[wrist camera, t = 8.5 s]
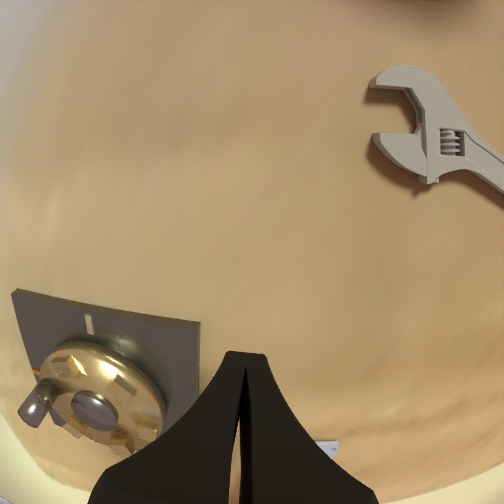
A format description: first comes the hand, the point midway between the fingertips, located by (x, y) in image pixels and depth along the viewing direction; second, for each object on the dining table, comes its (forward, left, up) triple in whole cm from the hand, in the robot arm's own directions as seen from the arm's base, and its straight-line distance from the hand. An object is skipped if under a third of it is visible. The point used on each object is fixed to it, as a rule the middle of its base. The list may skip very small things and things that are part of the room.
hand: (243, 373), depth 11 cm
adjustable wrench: (+8, -17, -10) cm, 22 cm away
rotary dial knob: (-12, +11, -8) cm, 18 cm away
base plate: (-12, +11, -9) cm, 19 cm away
